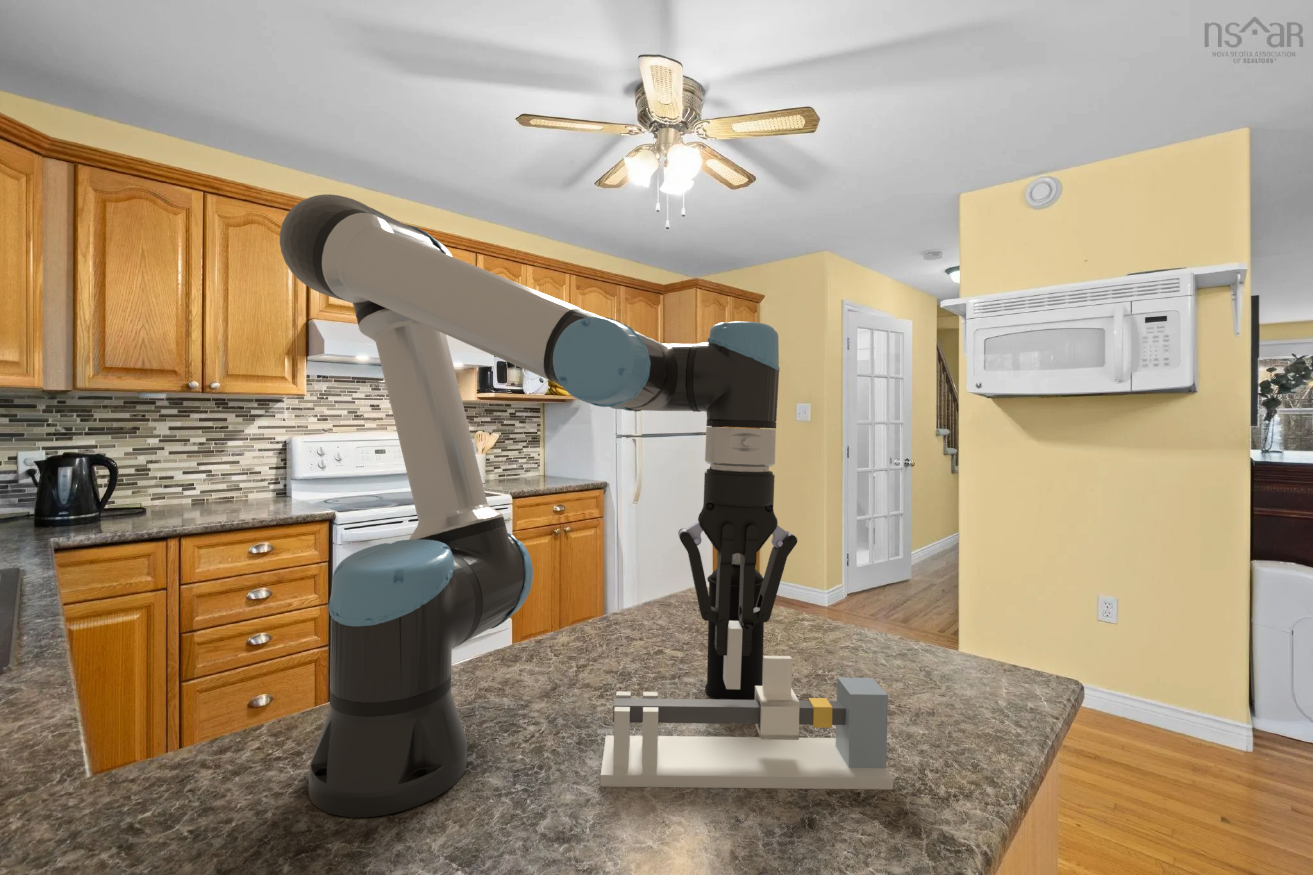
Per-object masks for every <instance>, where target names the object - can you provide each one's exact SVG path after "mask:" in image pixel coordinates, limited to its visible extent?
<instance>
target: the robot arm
mask: <svg viewBox="0 0 1313 875" xmlns="http://www.w3.org/2000/svg"><path fill="white" fill-rule="evenodd" d="M280 226H281V227H280V231H279V246H280V251H281V254H282V258H283V260H284V263H285V264H286V266H287V267H288V269H289V270H290V272H291V273H292V274H293V275H294V277H296V278H297V280H299V281H300V282H301V283H302V284H304V285H305V286H307V287H308V288H310V289H311V290H313V291H316V292H317V293H320V294H322V295H325V296H328V297H331V298H334V299H337V300H341V301H344V302H347V303H348V302H349V303H352V305H353V308H354V314H355V318H356V321H357V325H358V329H359V332H360V333H361V334H362V335H364V336H365V337H367V338H369V339H371V340H372V341H374V342H375V345H376V349H377V354H378V357H379V362H380V365H381V370H382V373H383V374H382V375H383V377H384V378H383V379H384V383H385V387H386V391H387V395H388V399H389V402H390V408H391V413H392V416H393V420H394V424H395V428H396V434H397V437H398V441H399V445H400V448H401V449H400V450H401V453H402V454H401V455H402V458H403V461H404V466H405V471H406V475H407V479H408V483H409V487H410V491H411V494H412V495H411V496H412V499H413V503H414V507H415V512H416V515H417V516H416V517H417V520H418V521H417V522H418V523H417V526H416V527H415V529H414V530H413V532H412V534H411V536H410V537H409V539H402V540H397V541H394V542H392V543H388V542H387V543H386V542H384V543H378V544H375V545H371V546H369V547H366V548H362V549H359V550H358V551H356V552H353V553H351V554H350V555H348V556H346V557H345V558H344V559H342V560H341V561H340V562H339V564H338V565H337V566H336V568H335V570H334V572H333V574H332V581H331V594H330V597H329V601H328V612H329V707H328V708H329V709H328V713H327V715H326V718H325V720H324V725H323V726H322V730H321V732H320V736H319V739H318V741H317V744H316V746H315V750H314V752H313V755H312V758H311V761H310V764H309V769H308V797H309V799H310V801H311V803H312V804H313V805H314V806H315V807H317V808H318V809H319V810H321V811H324V812H325V813H328V814H331V815H335V816H340V817H348V818H369V817H370V818H373V817H380V816H385V815H386V816H387V815H391V814H396V813H400V812H403V811H407V810H410V809H412V808H415V807H418V806H421V805H423V804H425V803H428V802H430V801H431V800H434V799H435V798H437V797H438V796H440V795H442V794H443V793H446V791H448V790H449V789H450V788H452V787H453V786H454V785H455V784H457V782H458V781H459V780H460V779H461V777H462V776H463V774H464V773H465V770H466V768H467V764H468V740H467V736H466V733H465V732H466V731H465V730H464V727H463V724H462V720H461V718H460V715H459V712H458V708H457V705H456V702H455V700H454V697H453V694H452V660H453V659H452V655H453V652H452V651H453V649H455V648H457V647H458V646H460V645H462V644H464V643H465V642H467V641H470V640H471V639H473V638H475V637H477V636H479V635H481V634H483V633H484V632H487V631H488V630H491V629H495V628H497V627H498V626H500V625H502V624H504V623H505V622H506V621H507V620H508V619H510V617H512V616H513V615H514V614H516V612H518V611H519V610H520V609H521V608H522V606H523V605H524V603H525V602H526V600H527V599H528V596H529V594H530V592H531V590H532V589H531V588H532V587H533V586H532V585H533V579H534V569H533V568H534V567H533V563H532V562H533V561H532V557H531V554H530V553H529V551H528V549H527V547H526V545H524V543H523V542H522V541H521V540H518V539H517V537H516V536H514V535H513V534H511V533H508V529H507V526H506V522H505V518H504V514H503V513H502V512H500V511H498V510H496V509H495V508H493V507H491V506H490V504H489V503H488V500H487V496H486V492H485V489H484V488H485V487H484V485H483V480H482V476H481V472H480V469H479V468H480V467H479V464H478V458H477V456H476V452H475V447H474V444H473V440H472V435H471V431H470V427H469V424H468V420H467V419H468V418H467V414H466V412H465V407H464V404H463V399H462V395H461V391H460V387H459V383H458V380H457V375H456V369H455V367H454V363H453V362H454V361H453V358H452V354H451V350H450V346H449V342H448V339H447V336H448V337H451V338H452V339H456V340H458V341H459V342H462V343H464V344H466V345H469V346H471V347H474V348H475V349H478V350H481V351H483V352H485V353H486V354H489V355H491V356H493V357H495V358H499V359H501V360H503V361H506V362H508V363H509V364H512V365H514V366H517V367H518V368H521V369H524V370H526V371H527V372H530V373H532V374H535V375H536V376H539V377H540V378H541V377H542V378H544V379H546V380H548V381H550V382H552V383H554V384H557V385H558V386H560V387H561V388H563V389H564V390H565V391H566V392H567V393H568V394H569V395H570V396H572V397H574V398H575V399H577V400H579V401H582V402H585V403H588V404H590V405H594V406H596V407H601V408H611V409H614V410H624V411H627V412H642V411H649V412H650V411H651V412H652V411H653V412H656V411H657V412H695V413H696V412H700V413H701V412H704V413H705V412H706V428H705V451H704V453H705V454H704V455H705V456H704V461H705V463H706V464H709V468H707V469H706V471H704V478H703V479H704V480H703V481H704V482H703V506H702V509H701V511H700V513H699V515H698V518H697V521H696V522H695V523H693V524H691V525H690V526H688V527H687V528H686V527H682V528H680V529H679V530H678V532H677V533H678V537H679V540H680V542H681V544H682V545H683V547H684V548H685V551H686V552H687V555H688V562H689V566H690V570H691V574H692V580H693V585H694V590H695V595H696V600H697V604H698V605H697V606H698V609H699V613H700V616H701V618H702V620H703V621H705V622H708V621H711V622H713V623H715V648H716V651H717V654H718V655H724V667H723V680H724V683H725V686H726V689H740V682H741V656H749V655H750V653H751V645H752V629H753V628H754V625H755V624H757V623H759V622H764V623H767V622H769V620H770V619H771V617H772V612H773V609H774V604H775V601H776V598H777V594H778V591H779V588H780V584H781V580H782V576H783V573H784V570H785V567H786V563H787V559H788V557H789V555H790V554H791V552H792V551H793V549H794V548H795V546H796V545H797V543H798V537H797V536H795V534H793V533H792V532H790V531H789V530H788V531H787V530H785V529H783V528H782V527H781V526H779V525H778V524H779V522H778V518H777V516H776V515H775V511H774V501H775V500H774V499H775V473H774V472H773V471H772V470H770V467H774V465H776V444H777V443H776V442H777V441H776V438H777V437H776V435H777V420H778V418H777V416H778V414H777V413H778V399H779V398H778V397H779V379H780V370H781V369H780V366H779V365H780V362H779V359H780V358H779V357H780V356H779V353H780V352H779V334H778V332H777V331H776V330H775V329H774V327H773V326H771V325H770V324H766V323H762V322H756V321H743V320H742V321H730V322H729V321H728V322H718V323H717V324H714V325H713V326H712V327H711V328H710V330H709V336H708V338H707V342H700V343H663V342H662V343H661V342H659V341H657V340H656V339H653V338H651V337H649V336H648V335H644V334H642V333H640V332H638V331H637V330H634V329H633V327H631V326H629V325H627V324H625V323H622V322H621V321H618V320H616V319H613V318H610V317H603V316H600V315H598V314H596V313H594V312H590V311H587V310H584V309H582V308H580V307H578V306H576V305H573V304H571V303H568V302H566V301H563V300H561V299H558V298H555V297H553V296H551V295H548V294H546V293H543V292H541V291H538V290H536V289H533V288H530V287H529V286H526V285H524V284H521V283H518V282H516V281H513V280H511V279H509V278H506V277H503V276H501V275H499V274H496V273H494V272H491V271H488V270H486V269H483V268H481V267H479V266H476V265H474V264H471V263H469V262H466V261H464V260H461V259H459V258H456V257H453V255H452V253H451V252H450V251H449V249H448V248H447V247H446V246H445V245H444V244H443V243H441V242H440V241H439V240H437V239H436V238H434V237H433V236H432V235H431V234H429V233H428V232H426V231H425V230H423V229H422V228H418V227H416V226H412V225H408V224H405V223H402V222H400V221H398V220H397V219H395V218H393V217H391V216H389V215H388V214H384V213H382V212H381V211H379V210H376V209H375V208H373V207H370V206H368V205H367V204H365V203H363V202H361V201H358V200H355V199H353V198H351V197H347V196H342V195H340V194H339V195H337V194H331V193H330V194H318V195H313V196H310V197H308V198H305V199H303V200H301V201H299V202H298V203H296V204H295V205H294V206H292V207H291V208H290V209H289V211H288V213H287V214H286V215H285V217H284V218H283V221H282V223H281V225H280ZM702 533H704V534H705V535H706V538H708V540H709V541H710V543H711V545H712V546H713V547H714V549H715V550H716V559H717V560H716V561H717V563H716V564H717V565H716V569H717V583H716V608H714V607H711V604H710V599H709V589H708V585H707V580H706V575H705V570H704V565H703V561H702V556H701V552H700V550H699V545H701V543H702V542H703V541H702V540H703V539H702V536H701V534H702ZM771 535H772V538H771V544H772V545H773V547H772V548H771V551H770V554H769V558H768V562H767V565H766V568H765V573H764V576H763V578H764V579H763V582H762V586H761V589H760V593H759V596H758V600H757V603H756V607H755V608H754V588H755V569H756V565H757V554H758V552H759V551H761V549H762V547H763V546H764V545H765V543H766V542H767V541H768V540H769V538H770V537H771ZM736 553H739V554H740V589H739V621H729V612H730V587H731V565H732V556H733V554H736Z"/></svg>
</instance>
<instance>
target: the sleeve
mask: <svg viewBox="0 0 1313 875" xmlns="http://www.w3.org/2000/svg"><path fill="white" fill-rule="evenodd" d="M792 672H793V658H792V656H790V655H763V677H762V686H755V700H759V701H760V704H761V717H760V724H754V725H755V728H756V730H757V732H758V735H759V736H758V737H760V738H761V739H765V740H799V738H800V737H799V736H800V725H799V703H800V702H799V700H800V699H798V697H797V695H796V693H795V691H794V690H793V688H792V683H793V682H792V679H793V677H792V675H793V673H792Z"/></svg>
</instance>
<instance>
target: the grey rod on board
mask: <svg viewBox="0 0 1313 875" xmlns="http://www.w3.org/2000/svg"><path fill="white" fill-rule="evenodd" d="M631 692H632V691H621V690H620V691H616V693H615V694H616V695H615V697H614V698H613V704H612V723H613V735H609V734H608V735H605V741H604V747H603V754H602V761H601V768H600V769H601V770H600V783H599V784H600V787H606V788H607V787H609V788H610V787H612V788H614V787H617V788H620V787H621V788H625V787H626V788H700V789H701V788H702V789H703V788H706V789H707V788H711V789H712V788H713V789H717V788H718V789H720V788H721V789H794V790H795V789H801V790H802V789H806V790H807V789H809V790H810V789H814V790H817V789H818V790H829V789H830V790H890V791H891V790H893V789H894V777H893V776H892V774H891V773H890V771H889V770H888V769H887V754H888V753H887V750H888V746H887V744H888V741H887V740H888V714H889V713H888V711H889V710H888V708H889V707H888V706H889V705H888V704H889V694H888V693H887V692H886V691H885V689H883V687H882V686H881V685H880V684H879V683H878V681H876V680H875V679H874V678H873V677H850V676H849V677H844V676H843V677H841V676H840V677H838V676H837V677H836V700H828V698H827V697H808V700H800V699H798V700H799V702H800V703H799V726H801V725H806V726H808V725H809V726H812V727H813V728H817V729H818V728H820V729H821V728H825V729H826V728H831V729H832V728H833V726H835V737H799V740H765V739H761V738H760V736H697V735H696V736H693V735H692V736H691V735H690V736H689V735H685V736H684V735H683V736H682V735H659V724H712V725H713V724H717V725H718V724H722V725H723V724H724V725H726V724H728V725H729V724H730V725H733V724H734V725H755V724H760V717H761V704H760V701H759V700H721V699H713V698H712V699H711V698H710V699H709V698H708V699H706V698H705V699H703V698H700V699H699V698H698V699H697V698H695V699H694V698H658V691H643V692H642V696H643V697H642V698H641V697H640V698H637V697H635V698H633V697H632V696H631V695H632V693H631ZM631 723H636V724H637V723H639V724H640V723H641V724H642V735H631Z"/></svg>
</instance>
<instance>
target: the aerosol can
mask: <svg viewBox="0 0 1313 875" xmlns="http://www.w3.org/2000/svg"><path fill="white" fill-rule="evenodd" d="M706 579H707V580H706V581H707V582H708V594H709V599H710V604H711V607H714V608H716V583H717V568H716V569H715V570H713V572H712V573H711V574H710V575H708V576H707V578H706ZM763 579H764V576H763V574H761V573H760V571H758V570H757V569H756V568H755V588H754V608H755V607H756V603H757V600H758V596H759V593H760V589H761V586H762V582H763ZM739 589H740V554H739V553H736V554H733V556H732V565H731V587H730V612H729V621H739ZM707 622H708V623H707V624H708V626H707V628H708V629H707V631H708V632H707V673H706V676H707V677H706V681H707V682H706V683H705V686H704V690H705V693H706V694H707V695H708V697H710V698H712V699H721V700H755V686H762V677H763V656H764V630H765V629H764V628H765V624H764V623H765V622H759V623H757V624H755V625H754V628H753V629H752V645H751V653H750V655H749V656H741V682H740V689H726V686H725V683H724V680H723V667H724V655H718V654H717V651H716V648H715V623H713V622H711V621H707Z"/></svg>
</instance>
